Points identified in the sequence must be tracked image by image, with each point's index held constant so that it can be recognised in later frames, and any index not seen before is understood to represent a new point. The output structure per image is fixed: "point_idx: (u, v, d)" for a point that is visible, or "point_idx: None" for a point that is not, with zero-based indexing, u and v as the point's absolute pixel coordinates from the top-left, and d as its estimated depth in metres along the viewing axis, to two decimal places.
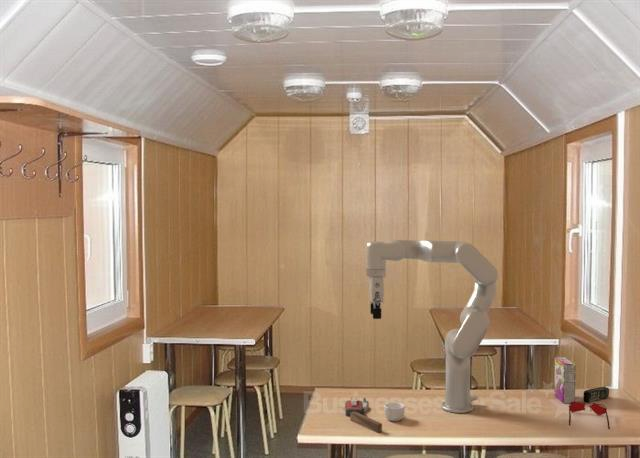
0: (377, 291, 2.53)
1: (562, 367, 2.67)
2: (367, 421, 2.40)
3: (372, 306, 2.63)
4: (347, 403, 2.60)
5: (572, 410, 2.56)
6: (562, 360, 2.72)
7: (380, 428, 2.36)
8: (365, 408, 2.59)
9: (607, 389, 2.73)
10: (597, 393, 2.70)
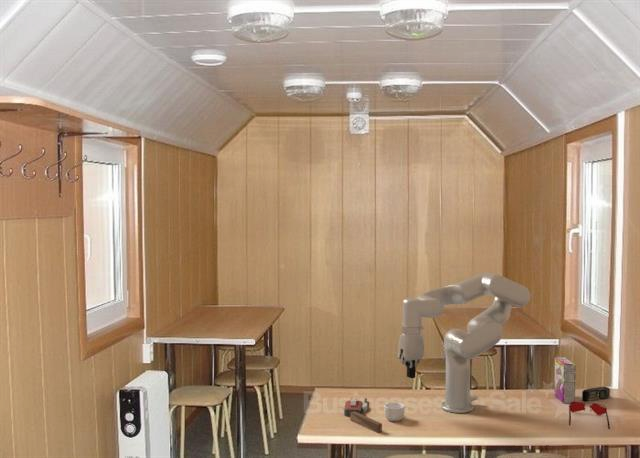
0: None
1: (562, 367, 2.67)
2: (367, 421, 2.40)
3: None
4: (346, 403, 2.60)
5: (572, 410, 2.56)
6: (562, 360, 2.72)
7: (380, 428, 2.36)
8: (365, 408, 2.58)
9: (608, 389, 2.73)
10: (597, 392, 2.71)
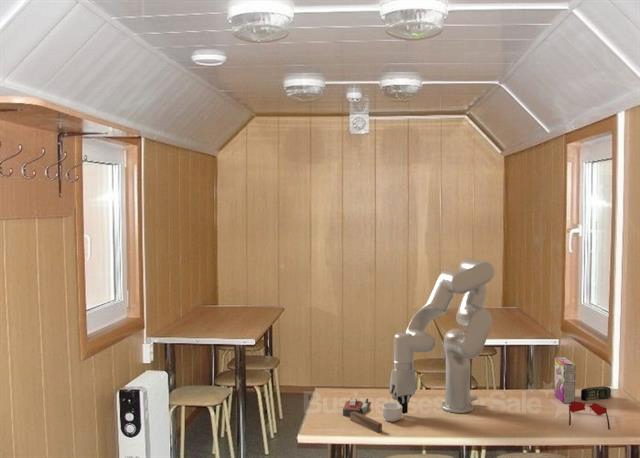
0: None
1: (562, 367, 2.67)
2: (367, 421, 2.40)
3: None
4: (346, 403, 2.60)
5: (572, 410, 2.56)
6: (562, 360, 2.72)
7: (380, 428, 2.36)
8: (364, 409, 2.58)
9: (608, 389, 2.73)
10: (596, 392, 2.71)
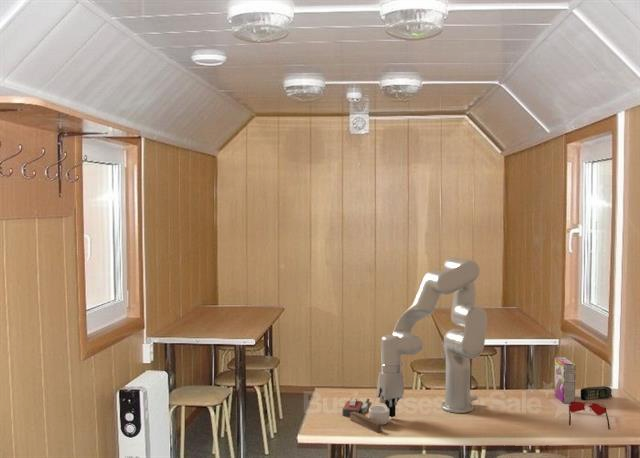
0: None
1: (562, 367, 2.67)
2: (367, 421, 2.40)
3: None
4: (346, 403, 2.60)
5: (572, 410, 2.56)
6: (562, 360, 2.72)
7: (380, 428, 2.36)
8: (364, 409, 2.57)
9: (608, 389, 2.73)
10: (596, 391, 2.72)
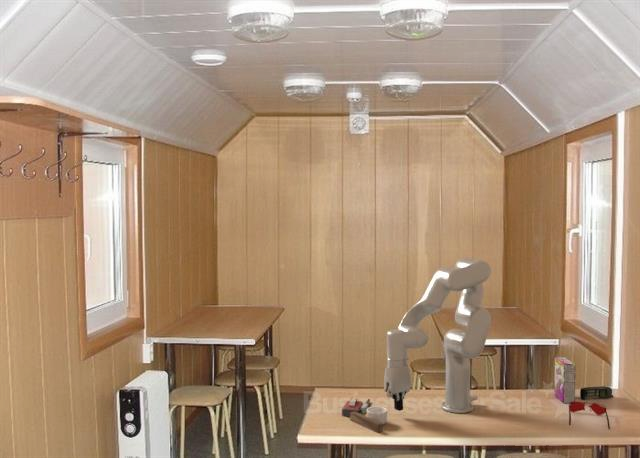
0: None
1: (562, 367, 2.67)
2: (367, 421, 2.40)
3: None
4: (346, 403, 2.60)
5: (572, 410, 2.56)
6: (562, 360, 2.72)
7: (380, 428, 2.36)
8: (364, 409, 2.57)
9: (609, 389, 2.73)
10: (596, 391, 2.72)
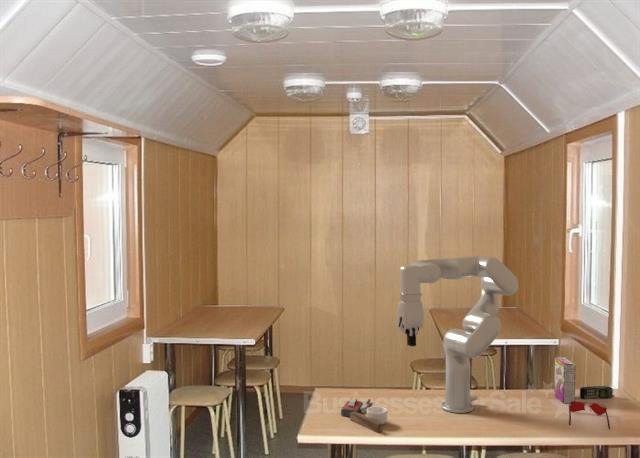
0: None
1: (562, 367, 2.67)
2: (367, 421, 2.40)
3: None
4: (346, 403, 2.60)
5: (572, 410, 2.56)
6: (562, 360, 2.72)
7: (380, 428, 2.36)
8: (363, 409, 2.57)
9: (609, 389, 2.73)
10: (596, 391, 2.73)
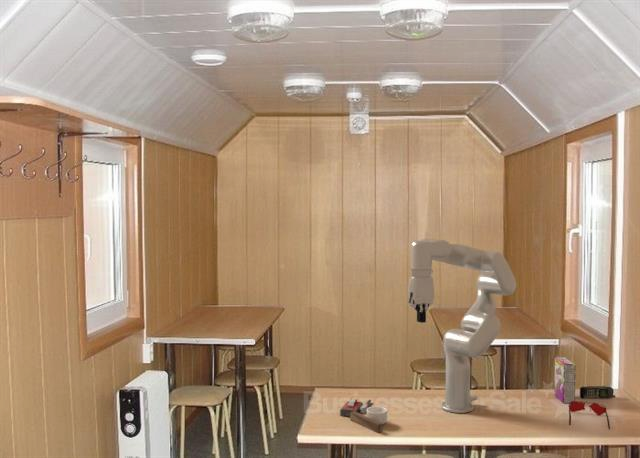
0: None
1: (562, 367, 2.67)
2: (367, 421, 2.40)
3: None
4: (346, 403, 2.60)
5: (572, 410, 2.57)
6: (562, 360, 2.72)
7: (380, 428, 2.36)
8: (363, 410, 2.57)
9: (610, 389, 2.73)
10: (596, 391, 2.73)
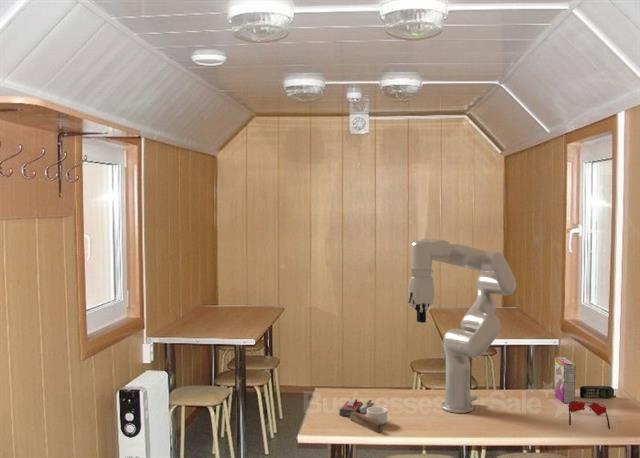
0: None
1: (562, 367, 2.67)
2: (367, 421, 2.40)
3: None
4: (346, 403, 2.60)
5: (572, 410, 2.57)
6: (562, 360, 2.72)
7: (380, 428, 2.36)
8: (362, 410, 2.57)
9: (610, 389, 2.73)
10: (596, 390, 2.73)
